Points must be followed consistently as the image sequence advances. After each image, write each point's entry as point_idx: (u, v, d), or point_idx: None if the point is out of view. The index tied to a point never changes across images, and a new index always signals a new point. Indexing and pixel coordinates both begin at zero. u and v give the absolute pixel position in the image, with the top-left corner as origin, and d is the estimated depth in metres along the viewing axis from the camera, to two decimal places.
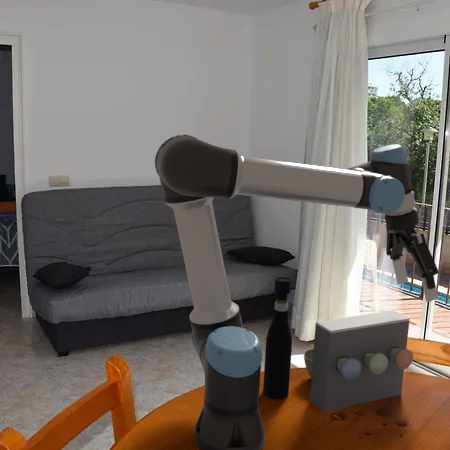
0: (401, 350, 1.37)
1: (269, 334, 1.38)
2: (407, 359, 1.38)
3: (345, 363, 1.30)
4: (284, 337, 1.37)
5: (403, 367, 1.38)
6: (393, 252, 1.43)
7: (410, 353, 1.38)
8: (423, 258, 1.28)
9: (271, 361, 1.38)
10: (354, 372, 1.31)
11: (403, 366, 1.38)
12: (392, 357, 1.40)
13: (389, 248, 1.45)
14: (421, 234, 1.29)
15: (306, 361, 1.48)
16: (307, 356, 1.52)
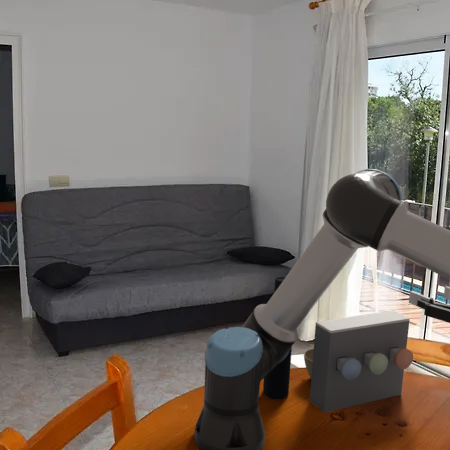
0: (401, 350, 1.37)
1: None
2: (407, 359, 1.38)
3: (345, 363, 1.30)
4: None
5: (403, 367, 1.38)
6: None
7: (410, 353, 1.38)
8: (443, 311, 1.16)
9: None
10: (354, 372, 1.31)
11: (403, 366, 1.38)
12: (392, 357, 1.40)
13: None
14: None
15: (306, 361, 1.48)
16: (307, 356, 1.52)
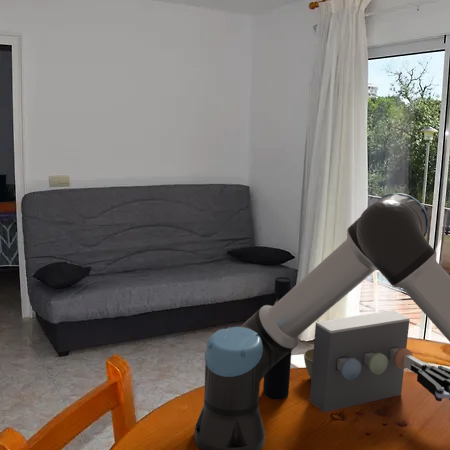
0: (401, 350, 1.37)
1: None
2: None
3: (345, 363, 1.30)
4: None
5: (403, 367, 1.38)
6: (441, 371, 1.29)
7: (410, 353, 1.38)
8: (427, 380, 1.25)
9: None
10: (354, 372, 1.31)
11: (403, 366, 1.38)
12: (392, 357, 1.40)
13: (448, 371, 1.30)
14: (437, 398, 1.21)
15: (306, 361, 1.48)
16: (307, 356, 1.52)
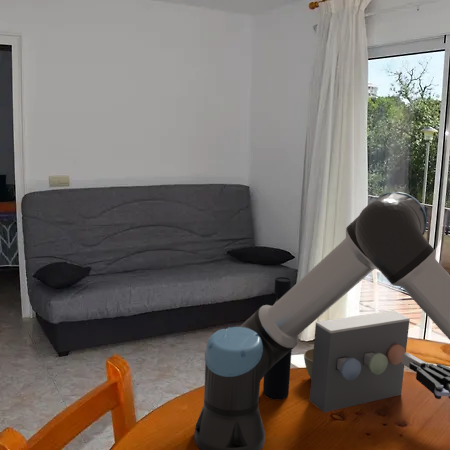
0: (393, 346, 1.39)
1: None
2: (399, 355, 1.40)
3: (345, 363, 1.30)
4: None
5: (395, 363, 1.40)
6: (440, 369, 1.29)
7: (402, 349, 1.40)
8: (426, 378, 1.26)
9: None
10: (354, 372, 1.31)
11: (395, 362, 1.40)
12: None
13: (446, 369, 1.30)
14: (436, 396, 1.21)
15: (306, 361, 1.48)
16: (307, 356, 1.52)
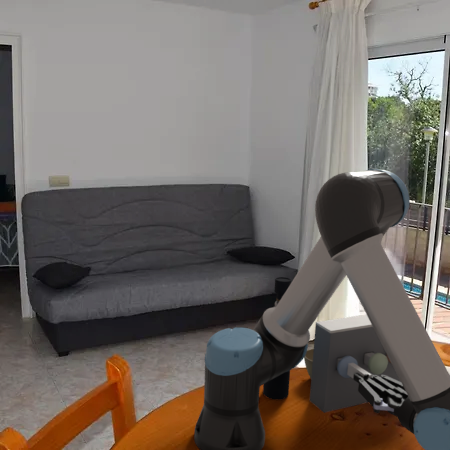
0: None
1: None
2: None
3: (342, 361, 1.31)
4: None
5: None
6: (383, 381, 1.23)
7: None
8: (366, 390, 1.19)
9: None
10: None
11: None
12: None
13: (390, 381, 1.24)
14: (375, 410, 1.15)
15: (306, 361, 1.48)
16: (307, 356, 1.52)
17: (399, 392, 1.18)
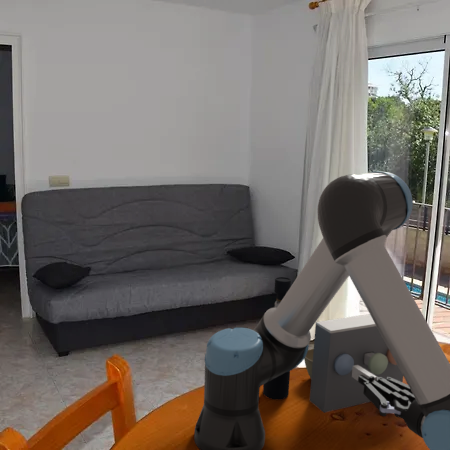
0: None
1: None
2: None
3: (338, 358, 1.32)
4: None
5: (395, 363, 1.40)
6: (389, 383, 1.21)
7: None
8: (372, 393, 1.18)
9: None
10: (347, 367, 1.33)
11: (395, 362, 1.40)
12: None
13: (396, 383, 1.22)
14: (381, 413, 1.13)
15: (306, 361, 1.48)
16: (307, 356, 1.52)
17: (405, 395, 1.16)
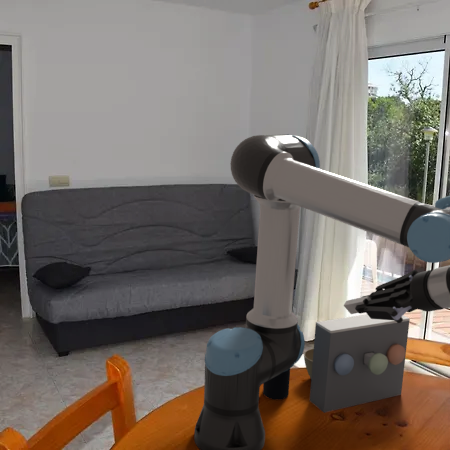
0: (393, 346, 1.39)
1: None
2: (399, 355, 1.40)
3: (338, 358, 1.32)
4: None
5: (395, 363, 1.40)
6: (381, 292, 1.17)
7: (402, 349, 1.40)
8: (377, 312, 1.13)
9: None
10: (347, 367, 1.33)
11: (395, 362, 1.40)
12: None
13: (386, 286, 1.18)
14: (398, 321, 1.08)
15: (306, 361, 1.48)
16: (307, 356, 1.52)
17: (400, 288, 1.12)
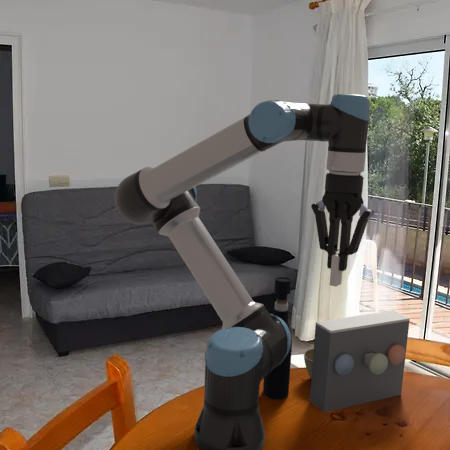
0: (393, 346, 1.39)
1: None
2: (399, 355, 1.40)
3: (338, 358, 1.32)
4: None
5: (395, 363, 1.40)
6: (331, 238, 1.17)
7: (402, 349, 1.40)
8: (359, 236, 1.14)
9: None
10: (347, 367, 1.33)
11: (395, 362, 1.40)
12: None
13: (323, 236, 1.18)
14: (372, 212, 1.13)
15: (306, 361, 1.48)
16: (307, 356, 1.52)
17: (335, 213, 1.16)
